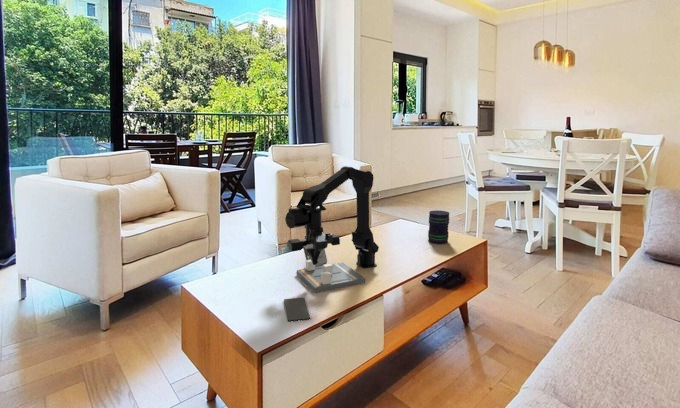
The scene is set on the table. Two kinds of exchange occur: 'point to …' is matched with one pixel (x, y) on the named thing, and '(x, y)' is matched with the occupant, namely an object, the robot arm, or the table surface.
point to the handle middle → (328, 268)
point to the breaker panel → (339, 278)
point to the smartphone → (296, 309)
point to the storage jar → (438, 227)
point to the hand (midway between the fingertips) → (314, 264)
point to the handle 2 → (326, 278)
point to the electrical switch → (321, 258)
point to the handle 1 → (309, 265)
